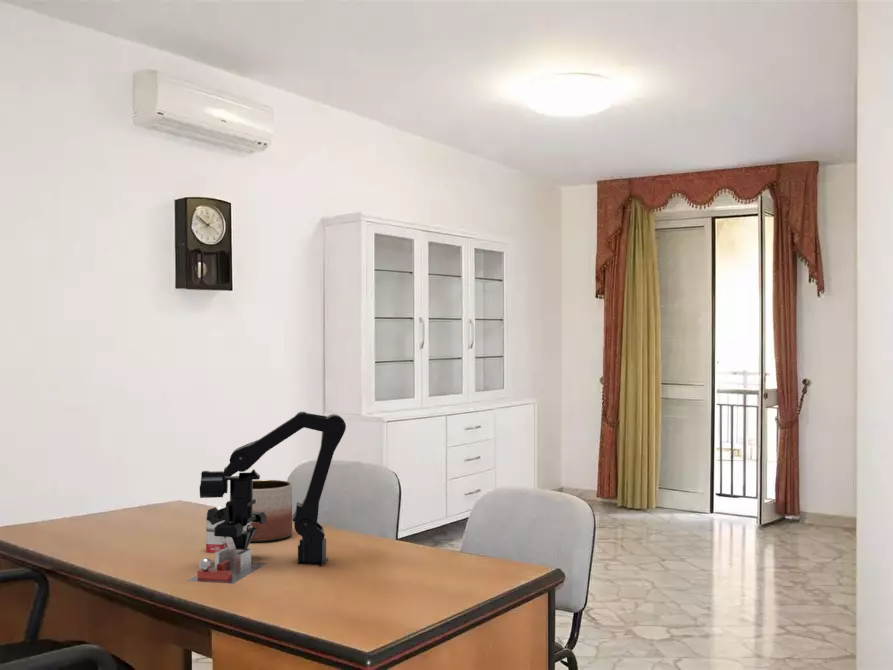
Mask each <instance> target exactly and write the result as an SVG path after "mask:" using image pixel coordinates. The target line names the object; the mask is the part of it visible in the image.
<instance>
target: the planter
mask: <svg viewBox="0 0 893 670" xmlns="http://www.w3.org/2000/svg"><path fill="white" fill-rule="evenodd" d="M253 499H256V503H255V504H253V512H264V513H265V514H266V523H264V524H260V523H259V522H253V523H251V525H252V528H257V530H256V531H255V533H254V535H253V537H252V539H251V541H250V543H270V542H276V541H277V542H278V541H280V540H284V539H286V538H288V537H290V536H291V535H292V534H293V485H292V482H290V481H288V480H287V481H286V480H278V479H258V480H253Z"/></svg>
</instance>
